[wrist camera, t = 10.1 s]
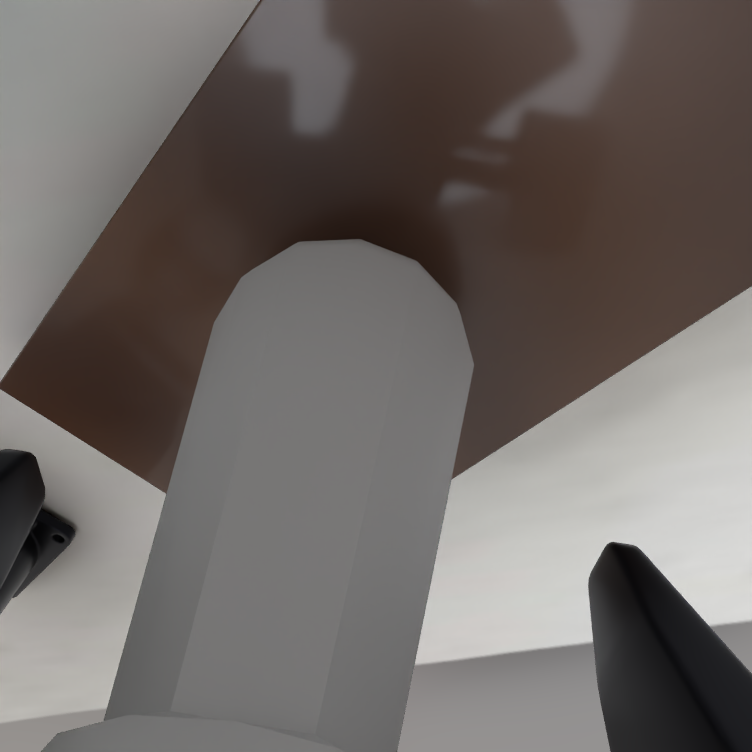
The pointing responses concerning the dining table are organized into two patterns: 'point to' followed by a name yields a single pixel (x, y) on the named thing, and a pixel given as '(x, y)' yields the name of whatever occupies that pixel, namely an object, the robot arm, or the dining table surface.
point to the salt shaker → (298, 516)
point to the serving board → (426, 200)
